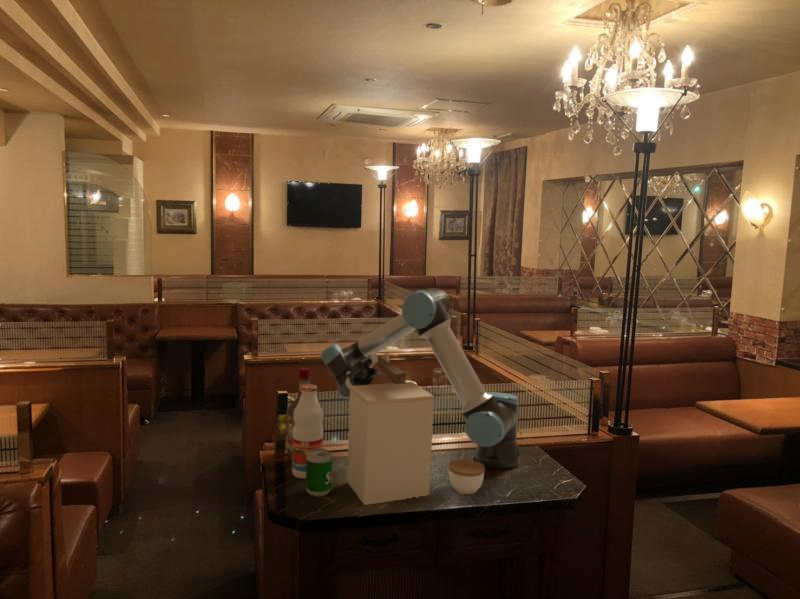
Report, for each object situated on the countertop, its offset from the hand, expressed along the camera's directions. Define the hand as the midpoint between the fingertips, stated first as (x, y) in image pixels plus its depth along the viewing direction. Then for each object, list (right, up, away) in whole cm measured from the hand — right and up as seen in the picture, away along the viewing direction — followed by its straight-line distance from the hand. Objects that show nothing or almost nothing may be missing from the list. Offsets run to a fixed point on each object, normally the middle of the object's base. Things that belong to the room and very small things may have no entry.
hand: (382, 357), depth 187 cm
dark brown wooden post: (+1, -5, -2) cm, 5 cm away
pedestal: (+2, -39, -3) cm, 39 cm away
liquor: (-27, -35, +20) cm, 49 cm away
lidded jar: (+25, -40, -2) cm, 47 cm away
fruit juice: (-24, -37, +6) cm, 44 cm away
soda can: (-18, -39, -7) cm, 44 cm away
